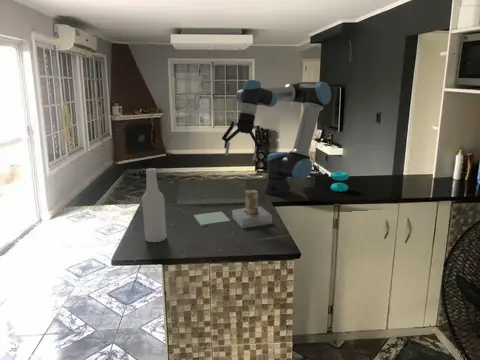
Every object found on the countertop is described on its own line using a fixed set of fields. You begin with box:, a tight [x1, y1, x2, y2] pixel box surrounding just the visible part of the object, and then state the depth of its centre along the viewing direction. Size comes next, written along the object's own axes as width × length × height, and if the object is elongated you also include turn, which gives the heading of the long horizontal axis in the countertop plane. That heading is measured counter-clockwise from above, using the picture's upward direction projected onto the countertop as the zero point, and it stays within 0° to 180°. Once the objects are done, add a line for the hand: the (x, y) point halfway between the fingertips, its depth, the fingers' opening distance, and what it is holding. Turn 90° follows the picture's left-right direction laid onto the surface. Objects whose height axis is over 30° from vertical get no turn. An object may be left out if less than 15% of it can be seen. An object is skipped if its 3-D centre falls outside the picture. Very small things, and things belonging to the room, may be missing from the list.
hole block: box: [231, 205, 273, 229], centre depth 185 cm, size 14×14×5 cm
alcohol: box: [141, 167, 168, 244], centre depth 165 cm, size 9×9×30 cm
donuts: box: [330, 171, 350, 193], centre depth 235 cm, size 10×10×10 cm
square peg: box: [244, 189, 259, 215], centre depth 183 cm, size 4×4×14 cm
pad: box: [193, 211, 231, 227], centre depth 190 cm, size 14×14×1 cm
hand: (240, 158), depth 191 cm, fingers open, 13 cm apart
